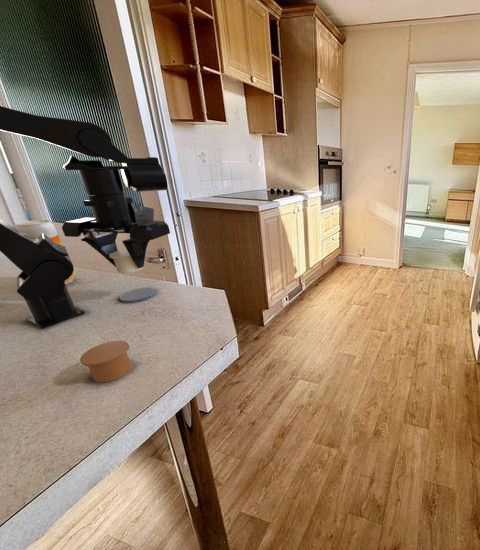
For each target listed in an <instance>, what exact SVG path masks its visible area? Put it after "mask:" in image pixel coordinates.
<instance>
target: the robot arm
mask: <svg viewBox="0 0 480 550" xmlns="http://www.w3.org/2000/svg"><path fill="white" fill-rule="evenodd" d="M0 131H1V132H6V133H11V134H14V135H20V136H23V137H28V138H33V139H37V140H40V141H43V142H45V143H48V144H51V145H53V146H57V147H60V148H62V149H65V150H69V151H71V152H74V153H77V154H80V155H83V156H86V157H90V158H91V157H92V158H102V159H103V160H106V161H108V162H112V163H117V164H121V165H104V164H103V163H102V161H101V160H100V159H99V160H98V159H91V160H90V159H89V160H88V159H86V160H85V159H83V160H82V159H78V158H77V157H76V156H74V155H70V156H69V159H68V160H67V162H66V163H64V164H63V165H62V168H63V169H64V170H66V171H78V172H79V175H80V179H81V181H82V184H83V187H84V190H85V193H86V196H87V199H85V200H82V201H83V203H82V204H83V205H84V207H91V210H92V213H93V216H94V217H82V218H77V219H73V220H67V221H64V222H63V224H62V226H61V230H62V232H63V234H64V237H68V238H78V237H80V240H81V242H85V243H86V244H88V245H89V247H91V248H92V249H94V250H95V251H96V252H98V253H99V254H100V255H101V256H103V258H105V259H106V260H107V261H108V262H109V263H110V264H111V265H112V266H113V267H115V268H116V265H115V262H114V259H112V258H110V257H109V255H110V254H111V253H113V252H116V251H119V250H118V246H117V242H116V240H117V237H118V235H119V234H129V238H126V239H124V240H122V244H123V245H124V248H125V250H127V251H128V253H129V254H130V256H131V258H132V260H133V261H134V263H135V264H136V266H137V267H138V268H142V267H143V268H144V265H145V260H146V253H147V248H148V244H149V243H150V241H153V240H156V239H158V238H162V237H164V236H167V235H170V234H171V230H170V227H169V224H168V223H167V222H166V221H164V220H155V208H153V207H147V206H143V205H139V204H135V201H134V199H133V198H132V197H129V196H126V193H125V189H124V187H123V183H124V185H125V187H126V188H131V189H132V190H133V192H135V193H140V192H142V193H143V192H159V191H167V190H168V179H167V175H166V173H165V172H164V170H163V169H164V168H163V167H162V166H161V163H160V161H159V158H158V157H155V156H148V157H128V156H127V155H126V154H125V153H124V152H122V151H121V150H120V149H119V148H117V147H116V146H115V144H113V139H112V138H111V136H110V134H109V133H108V132H107V131H106V130H105V128H103V127H102V126H99V125H98V124H95V123H92V122H89V121H82V120H75V119H69V118H59V117H50V116H43V115H37V114H36V115H35V114H32V113H28V112H24V111H21V110H17V109H13V108H10V107H6V106H2V105H0ZM119 170H120V173H121V174H120V173H119ZM120 175H121V176H122V178H121V176H120ZM121 179H122V180H121ZM122 181H123V182H122ZM15 228H16V227H14V226H12V225H10V224H9V223H7V222H6V221H4V220H3V219H1V218H0V252H1V253H2V254H3V255H4V256H5V258H7V259H8V260H9V261H10V262H11V263H12V264H13V265H15V267H17V269H19V270H20V271H21V272H20V273H19V274H18V275H17V276H16V293H17V294H18V295H20V296H21V297H23V299H24V301H25V303H26V305H27V307H28V309H29V311H30V313H31V316H28V317H26V318H25V320H26V321H27V322H29V323H31V324H33V325H34V326H36V327H39V329H45V328H48V327H52V326H54V325H57V324H59V323H63V322H65V321H67V320H71V319H73V318H75V317H79V316H82V315H84V314H85V313H86V311H85V310H84V309H83V308H80V307H78V306H75V304H74V301H73V299H72V296H71V294H70V292H69V290H68V287H67V284H65V280H67V279H68V278H69V277H70V276H71V275H72V273H73V274H74V264H73V262H72V259H71V257H70V255H69V252H68V250H67V248H66V246H64V245H62V246H61V245H58V244H56V243H54V242H53V241H52V240H51V239H50V238H49V237H47V236H46V235H45V234H44V233H42V234H41V235H40V236H39V237H37V238H35V237H32V236H29V235H27V234H24V233H22V232H20V231H18V230H17V229H15ZM82 235H83V237H81V236H82ZM143 268H142V269H143Z"/></svg>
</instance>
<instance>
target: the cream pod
mask: <svg viewBox="0 0 480 550" xmlns="http://www.w3.org/2000/svg"><path fill="white" fill-rule="evenodd" d="M109 257H110V258H112V259H114V262H115V265H116V267H115V268H116V271H117V273H118V274H119V273H120V274H129V273H134V272H138V271H141V270H142V269H143V268H144V266H143V267H142V268H138V267H137V266H136V264H135V263H134V261H133V260H132V258H131V256H130V254H129V253H128V251H127V249H122V250H118V251H116V252H113V253H111V254H110V255H109Z"/></svg>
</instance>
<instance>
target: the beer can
mask: <svg viewBox="0 0 480 550" xmlns="http://www.w3.org/2000/svg"><path fill="white" fill-rule="evenodd" d="M14 228H15V229H17V230H18V231H20V232H22V233H24V234H27V235H29V236H32V237H35V238H37V237H39V236H40V235H41V234H42V233H44V234H45V235H46V236H47V237H49V238H50V239H51V240H52V241H53V242H54V243H56V244H58V245H61V246H63V243H62V240H61V239H60V237H59V233H58V231H57V229H56V225H54V223H52V222H51V221H50V220H49V219H36V220H26V221H21V222H17V223H15V227H14ZM74 278H75V274H74V272H73V273H72V275H71V276H70V277H69V278H68V279H67V280H65V285H67V284H70V283H72V282H73V281H74Z"/></svg>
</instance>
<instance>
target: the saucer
mask: <svg viewBox="0 0 480 550" xmlns="http://www.w3.org/2000/svg"><path fill="white" fill-rule="evenodd" d="M154 295H156V290H155V289H154V288H152V287H142V288H141V287H140V288H135V289H132V290H129V291H126V292H124V293H123V294H121V295H120V296H119V300H120V301H121V302H123V303H138V302H141V301H144V300H148V299H150V298H152V297H154Z"/></svg>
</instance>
